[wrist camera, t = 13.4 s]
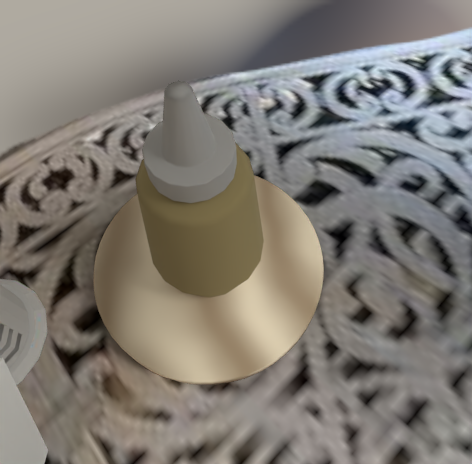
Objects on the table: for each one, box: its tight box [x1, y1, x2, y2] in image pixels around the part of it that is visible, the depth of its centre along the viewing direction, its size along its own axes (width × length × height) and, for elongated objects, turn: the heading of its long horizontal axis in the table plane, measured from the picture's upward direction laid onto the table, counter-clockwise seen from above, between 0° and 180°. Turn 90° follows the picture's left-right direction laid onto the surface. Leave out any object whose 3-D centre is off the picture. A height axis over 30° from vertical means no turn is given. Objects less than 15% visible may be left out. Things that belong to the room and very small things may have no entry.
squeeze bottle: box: [136, 81, 264, 298], centre depth 26 cm, size 8×8×18 cm
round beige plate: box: [93, 176, 324, 385], centre depth 33 cm, size 18×18×6 cm
